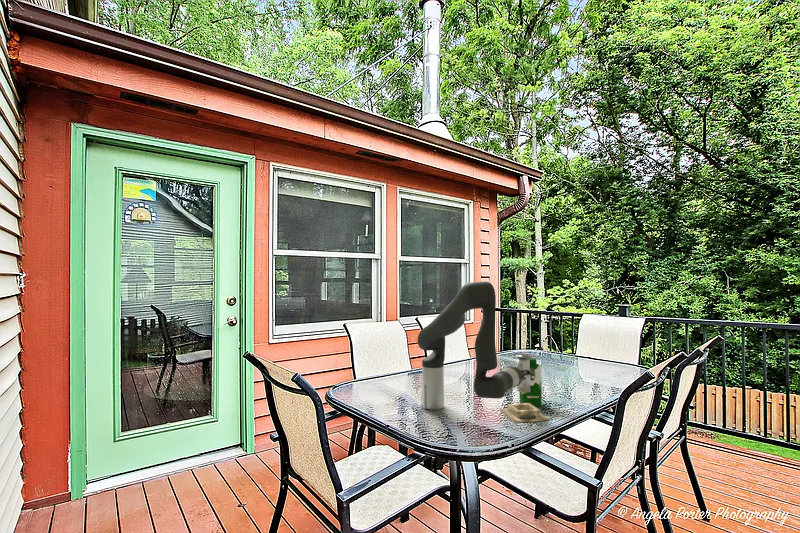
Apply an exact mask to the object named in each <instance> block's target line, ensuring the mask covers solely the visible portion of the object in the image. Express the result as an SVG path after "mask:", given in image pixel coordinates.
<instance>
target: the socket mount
mask: <svg viewBox="0 0 800 533" xmlns="http://www.w3.org/2000/svg"><path fill="white" fill-rule="evenodd" d="M499 411H500V412H501V413H502V414H503V415H504V416H505V417H507V418H509V420H510V421H512V422H513V423H517V424H518V423H531V422H532V423H533V422H547V421H548V422H549V421H550V418H549V417H548V416H547V415H545V414H544V413H542V412H541V409H539V407H535V406H533V405H532V404H530V403H507V408H500V410H499Z"/></svg>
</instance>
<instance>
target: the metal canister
mask: <svg viewBox="0 0 800 533" xmlns="http://www.w3.org/2000/svg"><path fill="white" fill-rule="evenodd" d="M515 358H516V367H517V368H518V369H520V370H523V369H526V370H529V369H530V358H532V356H531V355H530V354H526V353H523V354H522V353H519V354H515ZM516 392H518V393H519V392H523V393H528V392H530V378H527V379H524V380H523V381H522V383H521V384H520V385H518V386H516Z"/></svg>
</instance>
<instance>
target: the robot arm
mask: <svg viewBox="0 0 800 533" xmlns="http://www.w3.org/2000/svg"><path fill="white" fill-rule="evenodd" d="M496 298H497V297H496V291H495V288H494V286H493V284H492V283H491V282H489V281H473V282H467V283H465V284H464V285H463V286H461V288H460V289H459V291H458V292H457V293H456V294H455V295H454V298H453V299H452V300H451V302H449V303H448V305H447V306H445V308H444V309H442V311H441V312H440V313H439V314H437V316H436V317H435V318H434V319H433V320H432V322H430V323H429V324H427V325H426V326H425V327H423V328H422V329H421V330H420V331H419V333H418V335H417V345H418V348H420V349H421V350H423V351H432V352H431V353H430V354H429V355H428V356H426V357H424V358H423V359H422V361H421V370H422V372H421V374H422V376H421V377H422V382H421V386H420V391H421V398H420V399H421V407H423V409H424V410H441V409H443V408H445V378H444V375H445V374H444V373H445V369H444V368H445V366H444V365H445V364H444V362H445V360H446V359H445V357H446V337H447V336H450V335H452V334H454V333H455V332H457V331H458V330H459V329H460V328H461V327H462V326H463V325H464V324H465V321H466V313H467V312H469V311H470V310H475V309H477V310H479V309H481V311H482V312H481V313H482V319H481V324H480V327H479V330H478V333H477V335H476V338H475V341H474V354H475V360H476V361H475V363H476V367H475V368H476V369H475V376H474V380H473V381H474V383H473V391H474V393H475V394H476V396H477V397H479V398H481V399H497V400H498V399H502V398H504V397H505V395H506V394H507V392H508V391H510V390H513V389H515V388H517V386H518V385H520V384H521V383H522V381H523V380H524V379H527V378H530V379H531V380H532V381H533V380H534V379H535V371H534V370H533V369H532V368H531V369H529V370H526V369H523V370H520V369H518V368H517V366H513V365H510V366H507V367H504V368H500V369H499V371H497V372H495V373H493V375H491V376H487V373H488V371H493V370H496V369H497V367H498V359H497V358H498V357H497V348H496V338H495V336H496V335H495V332H496V310H497V308H496V305H497V304H496V302H497V301H496V300H497V299H496Z"/></svg>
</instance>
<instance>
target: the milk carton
mask: <svg viewBox="0 0 800 533" xmlns="http://www.w3.org/2000/svg"><path fill="white" fill-rule="evenodd" d="M531 368H532V369H533V370H534V371H535V379H534V380H533V381H532V380H531V379H530V392H528V393H523V392H518V393H519V404H521V403H530V404H532V405H533V406H535V407H536V408H542V406H543V404H542V402H543V400H542V398H543V394H542V388H543V387H542V364H541V363H540V362H538V361H537V358H534V357H533V358H532V357H531V358H530V369H531Z"/></svg>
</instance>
